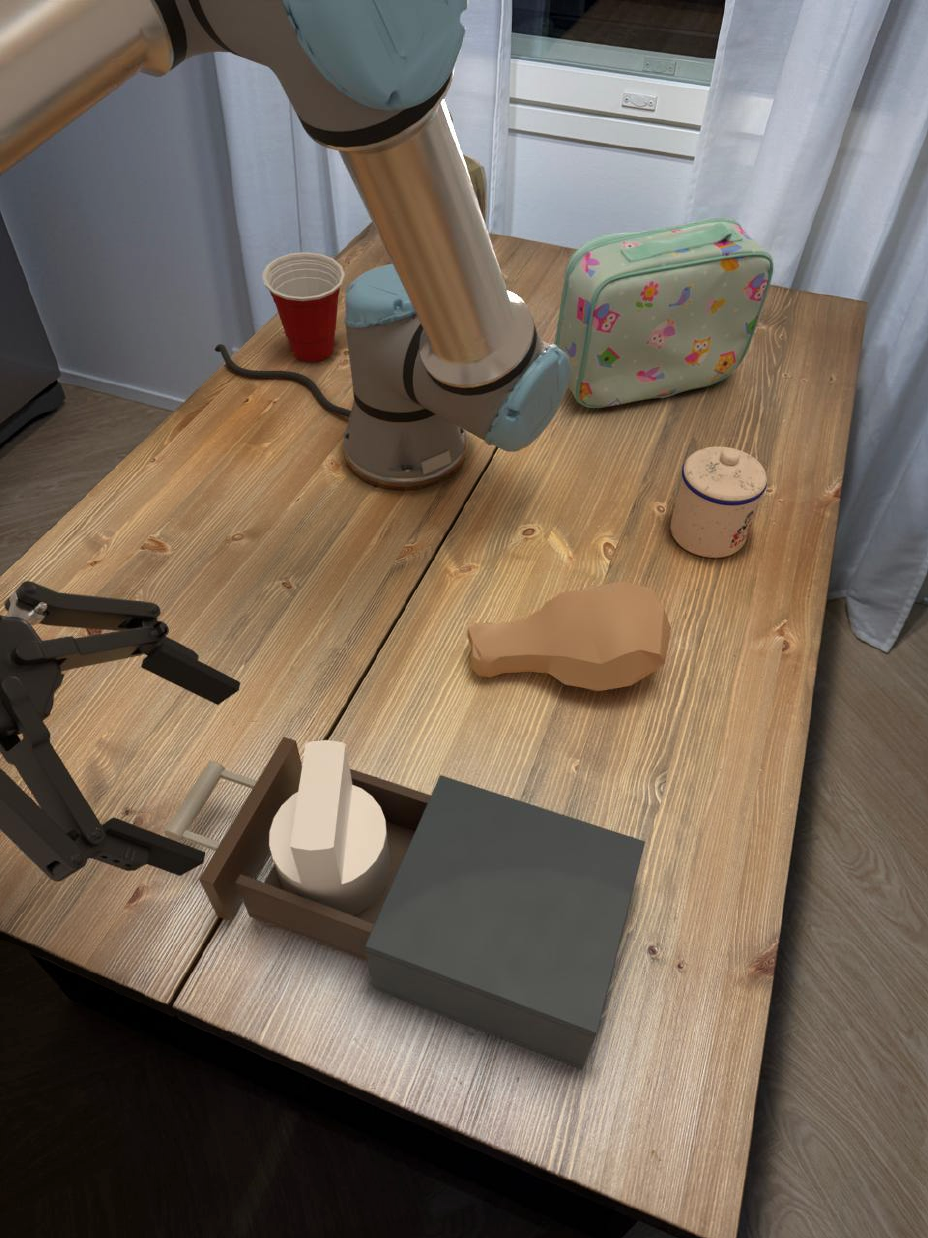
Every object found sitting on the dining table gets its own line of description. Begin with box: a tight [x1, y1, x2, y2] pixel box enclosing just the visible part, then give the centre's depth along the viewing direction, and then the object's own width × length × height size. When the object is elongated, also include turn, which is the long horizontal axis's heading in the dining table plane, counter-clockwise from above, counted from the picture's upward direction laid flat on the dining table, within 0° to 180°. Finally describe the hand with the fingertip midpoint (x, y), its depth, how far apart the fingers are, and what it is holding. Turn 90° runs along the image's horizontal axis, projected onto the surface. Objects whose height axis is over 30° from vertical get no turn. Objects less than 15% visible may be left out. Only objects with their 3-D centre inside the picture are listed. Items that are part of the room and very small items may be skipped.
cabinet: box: [365, 774, 646, 1070], centre depth 68 cm, size 17×15×9 cm
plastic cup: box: [261, 251, 346, 363], centre depth 122 cm, size 11×11×12 cm
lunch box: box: [553, 217, 774, 409], centre depth 114 cm, size 27×10×21 cm, turn 111°
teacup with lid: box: [670, 446, 768, 559], centre depth 99 cm, size 12×9×12 cm
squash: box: [466, 581, 672, 692], centre depth 87 cm, size 11×20×9 cm, turn 93°
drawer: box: [163, 736, 432, 963], centre depth 72 cm, size 21×14×7 cm, turn 70°
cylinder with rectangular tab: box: [269, 739, 390, 915], centre depth 69 cm, size 9×9×12 cm
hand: (212, 773), depth 62 cm, fingers open, 13 cm apart
